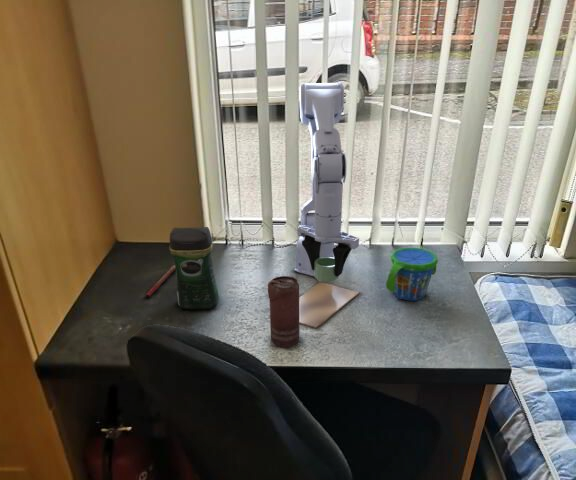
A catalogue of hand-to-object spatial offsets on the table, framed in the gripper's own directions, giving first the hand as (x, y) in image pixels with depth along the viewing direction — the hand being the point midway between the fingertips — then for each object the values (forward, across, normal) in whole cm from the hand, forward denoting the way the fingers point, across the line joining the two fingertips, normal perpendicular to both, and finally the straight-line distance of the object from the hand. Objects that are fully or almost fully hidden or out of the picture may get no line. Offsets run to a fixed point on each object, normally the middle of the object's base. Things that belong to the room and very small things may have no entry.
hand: (326, 271), depth 130 cm
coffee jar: (+9, -26, -15) cm, 32 cm away
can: (+9, +1, -18) cm, 20 cm away
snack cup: (+9, +14, +16) cm, 23 cm away
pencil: (+9, -42, -11) cm, 44 cm away
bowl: (+2, 0, 0) cm, 2 cm away
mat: (+9, -2, 0) cm, 9 cm away
